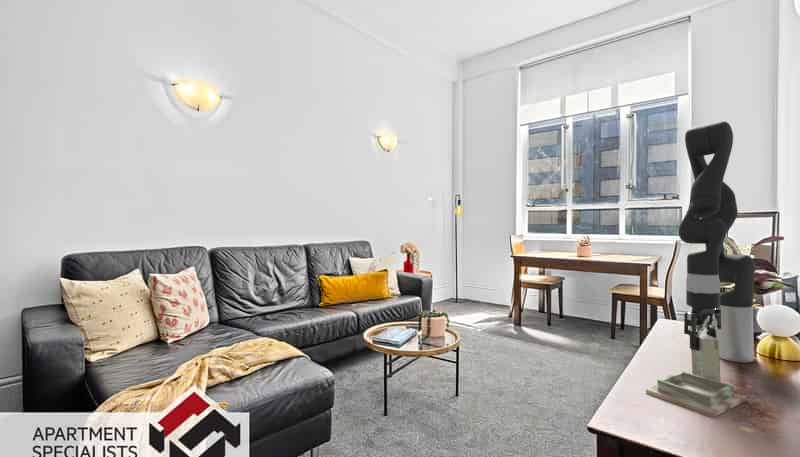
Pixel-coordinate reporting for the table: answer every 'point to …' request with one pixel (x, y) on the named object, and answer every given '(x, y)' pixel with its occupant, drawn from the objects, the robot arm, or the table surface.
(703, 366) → the skincare box
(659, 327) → the table surface
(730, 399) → the socket stand
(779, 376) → the table surface
